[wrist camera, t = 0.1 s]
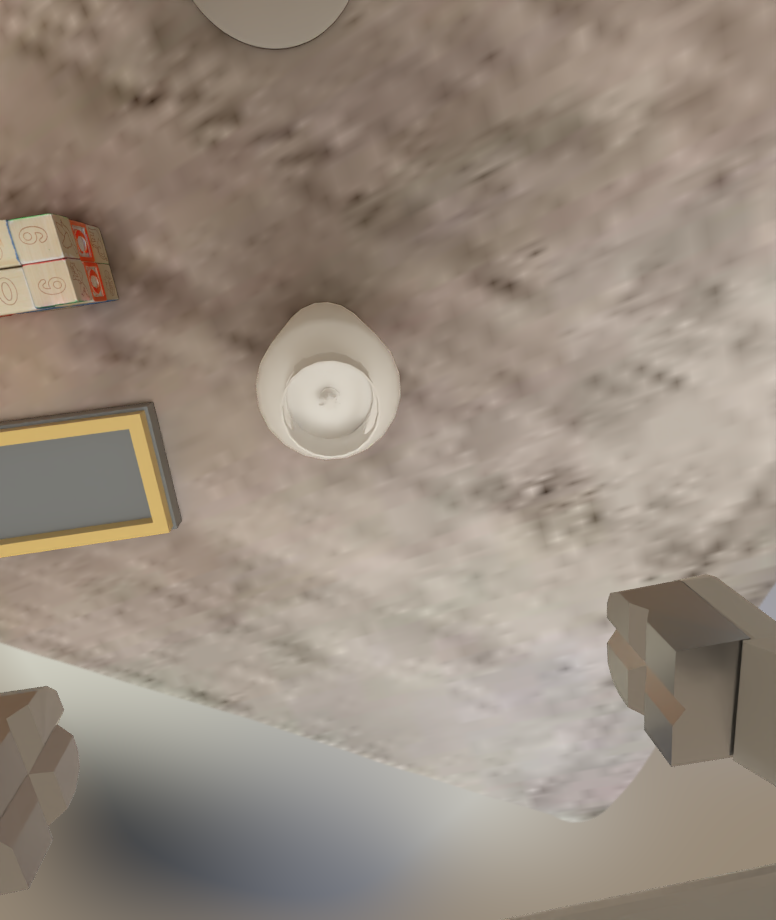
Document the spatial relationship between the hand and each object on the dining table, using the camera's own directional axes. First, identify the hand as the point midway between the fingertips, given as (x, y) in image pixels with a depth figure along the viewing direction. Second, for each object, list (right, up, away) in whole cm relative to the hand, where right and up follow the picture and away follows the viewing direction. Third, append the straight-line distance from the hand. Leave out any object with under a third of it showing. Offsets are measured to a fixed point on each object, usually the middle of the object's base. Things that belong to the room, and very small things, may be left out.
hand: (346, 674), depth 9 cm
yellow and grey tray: (-34, +1, +46) cm, 57 cm away
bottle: (-5, +14, +46) cm, 48 cm away
